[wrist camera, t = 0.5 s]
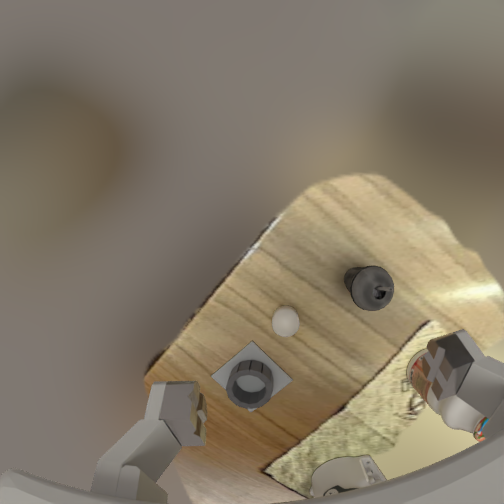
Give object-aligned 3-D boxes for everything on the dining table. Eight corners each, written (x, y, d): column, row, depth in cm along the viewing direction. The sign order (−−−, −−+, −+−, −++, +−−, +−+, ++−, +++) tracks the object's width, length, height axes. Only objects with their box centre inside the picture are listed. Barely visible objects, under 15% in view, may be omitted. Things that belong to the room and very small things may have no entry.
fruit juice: (424, 339, 57) (497, 394, 29) (448, 359, 56) (518, 414, 28) (397, 373, 58) (454, 444, 30) (422, 391, 57) (479, 459, 29)
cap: (303, 317, 59) (305, 324, 54) (284, 334, 59) (285, 342, 55) (286, 300, 59) (286, 304, 55) (267, 317, 60) (266, 323, 55)
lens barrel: (292, 379, 60) (293, 391, 54) (251, 411, 61) (248, 424, 55) (252, 340, 60) (249, 349, 55) (211, 375, 61) (205, 386, 56)
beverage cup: (335, 296, 58) (361, 324, 38) (338, 259, 58) (367, 269, 38) (370, 298, 57) (409, 324, 38) (374, 261, 57) (416, 272, 37)
